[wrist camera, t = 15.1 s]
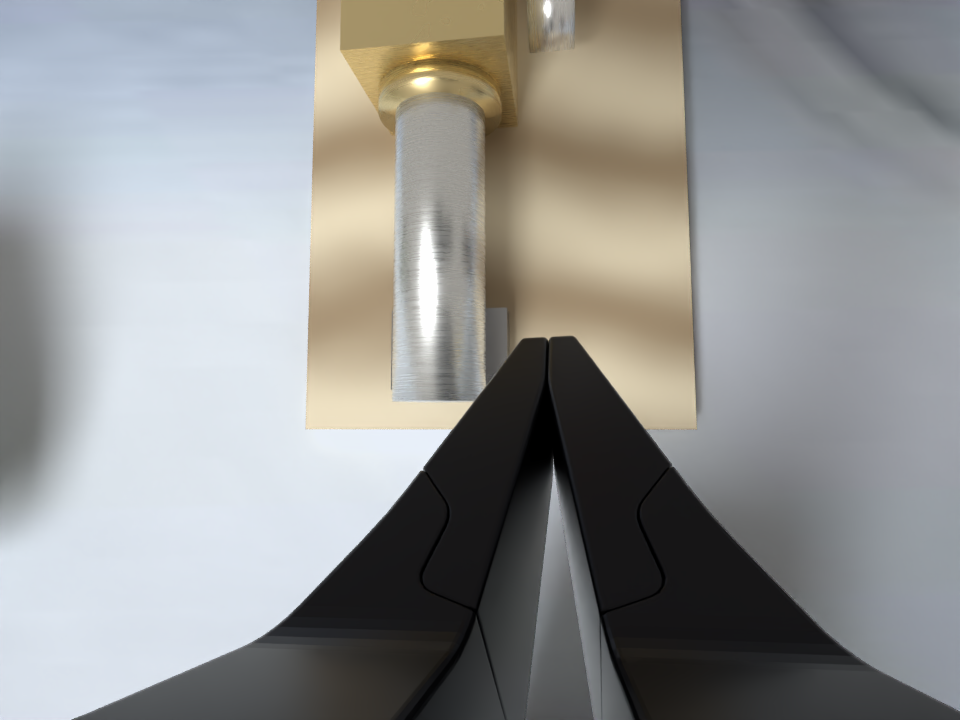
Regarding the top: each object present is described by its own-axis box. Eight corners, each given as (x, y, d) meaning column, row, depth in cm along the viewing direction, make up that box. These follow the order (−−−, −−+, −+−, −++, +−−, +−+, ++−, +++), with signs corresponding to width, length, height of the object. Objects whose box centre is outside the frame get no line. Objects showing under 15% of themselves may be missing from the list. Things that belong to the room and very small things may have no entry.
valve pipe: (520, 402, 22) (506, 398, 16) (388, 403, 23) (331, 399, 17) (516, -82, 24) (502, -232, 18) (394, -67, 25) (345, -207, 19)
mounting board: (690, 428, 22) (696, 429, 21) (316, 428, 24) (305, 429, 23) (670, -102, 24) (675, -125, 23) (328, -60, 26) (319, -79, 25)
